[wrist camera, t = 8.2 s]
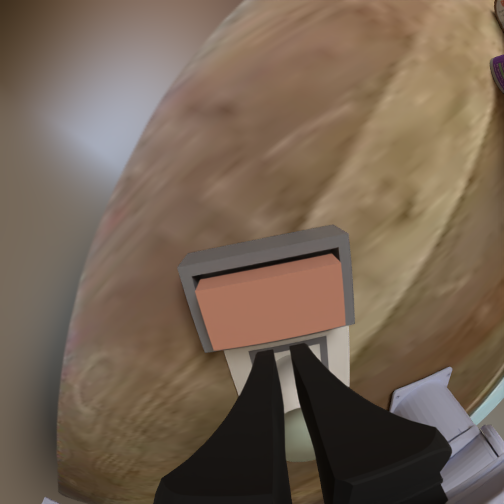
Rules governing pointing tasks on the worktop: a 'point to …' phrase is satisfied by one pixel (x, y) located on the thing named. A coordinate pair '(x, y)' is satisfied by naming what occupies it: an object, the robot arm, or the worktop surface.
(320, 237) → the button housing
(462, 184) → the worktop surface
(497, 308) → the worktop surface
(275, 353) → the paper sheet
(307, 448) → the marker
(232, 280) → the button
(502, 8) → the tin
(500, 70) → the container
